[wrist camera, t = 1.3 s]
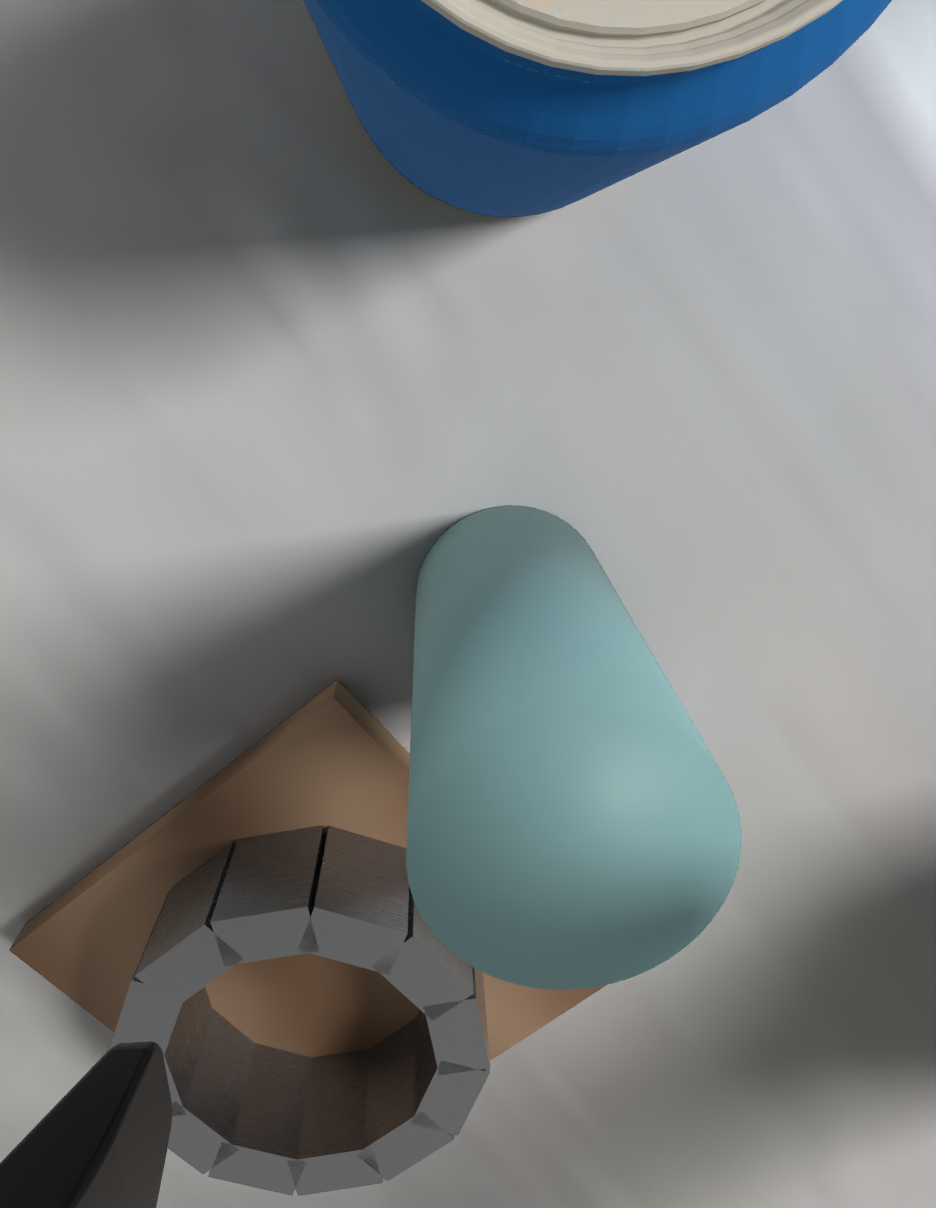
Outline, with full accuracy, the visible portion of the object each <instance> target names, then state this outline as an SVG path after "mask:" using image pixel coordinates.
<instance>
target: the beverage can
mask: <svg viewBox="0 0 936 1208" xmlns="http://www.w3.org/2000/svg"><path fill="white" fill-rule="evenodd" d="M891 1H892V0H304V2H305V4H306V6H307V9H308V11H309V13H310V15H311V17H312V19H313V22H314V24H315V26H316V28H317V30H318V32H319V35H320V37H321V39H322V41H323V43H324V45H325V48H326V50H327V52H328V54H329V56H330V58H331V61H332V63H333V65H334V67H335V69H336V71H337V74H338V76H339V78H340V80H341V82H342V84H343V87H344V89H345V91H346V93H347V95H348V97H349V100H350V102H351V104H352V106H353V108H354V110H355V112H356V114H357V116H358V118H359V120H360V122H361V123H362V125H363V127H364V129H365V131H366V132H367V134H368V135H369V137H370V138H371V140H372V141H373V142H374V144H375V145H376V147H377V148H378V150H379V151H380V152H381V153H382V154H383V155H384V157H385V158H386V159H387V160H388V161H389V162H390V163H391V164H392V166H393V167H394V168H395V169H396V170H397V171H399V172H400V173H401V174H402V175H403V176H404V177H406V178H407V179H408V180H409V181H410V182H411V183H412V184H414V185H415V186H417V187H418V188H420V189H421V190H423V191H425V192H426V193H428V194H429V195H431V196H432V197H434V198H436V199H438V200H441V201H443V202H445V203H447V204H449V205H451V206H454V207H457V208H460V209H463V210H466V211H469V212H472V213H478V214H484V215H490V216H503V217H519V216H527V215H536V214H541V213H544V212H548V211H552V210H556V209H559V208H562V207H564V206H566V205H569V204H571V203H573V202H576V201H578V200H580V199H583V198H585V197H587V196H589V195H591V194H593V193H595V192H598V191H600V190H602V189H604V188H606V187H608V186H610V185H612V184H615V183H617V182H619V181H621V180H623V179H625V178H627V177H629V176H632V175H634V174H636V173H638V172H640V171H642V170H644V169H647V168H649V167H651V166H653V165H655V164H657V163H659V162H661V161H664V160H666V159H668V158H670V157H672V156H674V155H676V154H678V153H681V152H683V151H685V150H687V149H689V148H691V147H693V146H696V145H698V144H700V143H702V142H704V141H706V140H708V139H710V138H713V137H715V136H717V135H719V134H721V133H723V132H725V131H727V130H730V129H732V128H734V127H736V126H738V125H740V124H742V123H745V122H747V121H749V120H750V119H752V118H754V117H756V116H757V115H759V114H761V113H762V112H764V111H766V110H767V109H769V108H771V107H773V106H774V105H776V104H778V103H779V102H781V101H783V100H785V99H786V98H788V97H790V96H791V95H793V94H794V93H795V92H797V91H798V90H799V89H800V88H802V87H803V86H804V85H806V84H807V83H808V82H810V81H811V80H812V79H813V78H815V77H816V76H817V75H819V74H820V73H821V72H823V71H824V70H825V69H826V68H828V67H829V66H830V65H832V64H833V63H834V62H835V61H836V60H837V59H838V58H839V57H840V56H841V55H842V54H843V53H844V52H845V51H846V50H847V49H848V48H849V47H850V46H851V45H852V44H853V43H854V42H855V41H856V40H857V39H858V38H859V37H860V36H861V35H862V34H863V33H864V32H865V31H866V30H868V29H869V28H870V26H871V25H872V24H873V23H874V22H875V20H876V19H877V18H878V17H879V15H880V14H881V13H882V12H883V11H884V9H885V8H886V7H887V6H888V4H889V3H890V2H891Z"/></svg>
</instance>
